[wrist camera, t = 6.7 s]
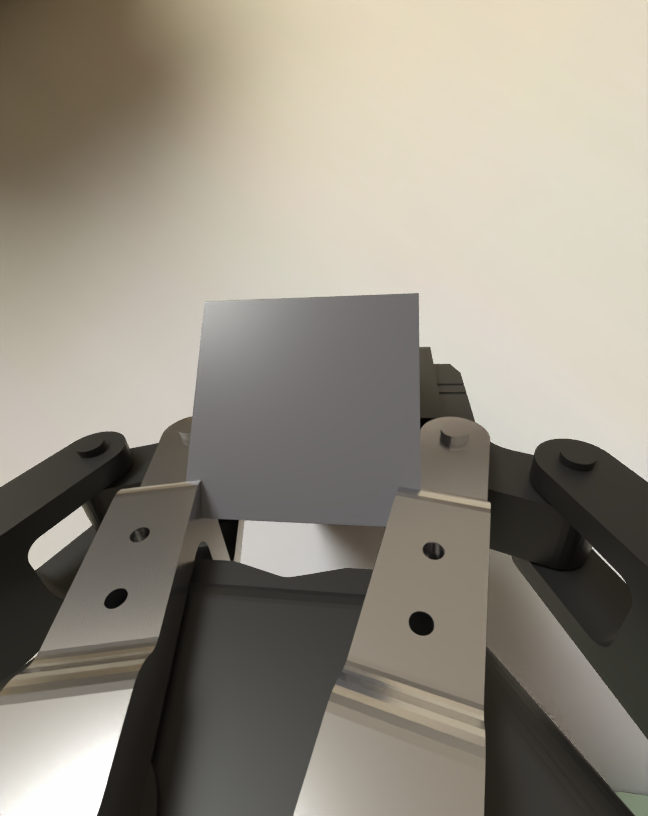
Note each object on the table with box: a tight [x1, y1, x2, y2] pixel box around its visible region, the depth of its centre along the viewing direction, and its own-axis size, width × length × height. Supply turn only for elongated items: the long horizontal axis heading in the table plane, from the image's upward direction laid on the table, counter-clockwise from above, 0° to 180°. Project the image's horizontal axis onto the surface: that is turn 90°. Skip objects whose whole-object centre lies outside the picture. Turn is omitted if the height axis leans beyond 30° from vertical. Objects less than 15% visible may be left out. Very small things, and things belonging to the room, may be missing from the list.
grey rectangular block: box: [186, 293, 421, 527], centre depth 11 cm, size 4×4×10 cm
